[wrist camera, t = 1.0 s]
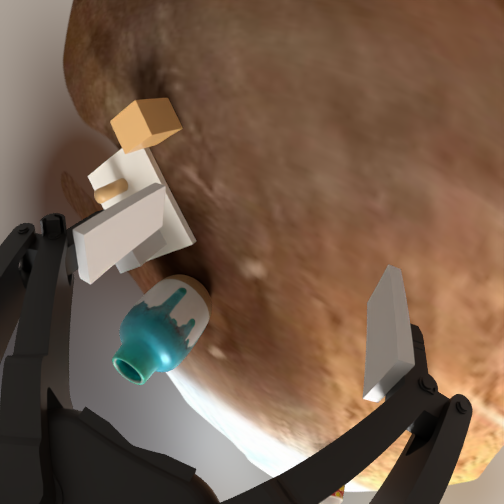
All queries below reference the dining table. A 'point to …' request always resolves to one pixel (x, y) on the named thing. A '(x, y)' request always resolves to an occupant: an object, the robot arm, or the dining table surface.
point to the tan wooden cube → (145, 124)
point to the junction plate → (129, 182)
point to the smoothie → (335, 497)
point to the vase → (162, 328)
